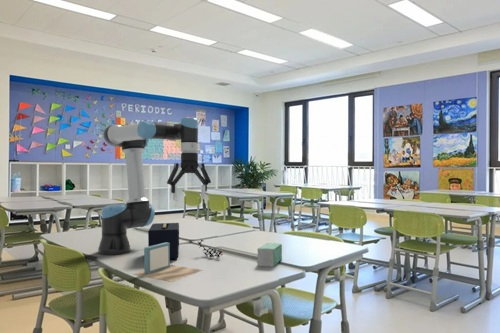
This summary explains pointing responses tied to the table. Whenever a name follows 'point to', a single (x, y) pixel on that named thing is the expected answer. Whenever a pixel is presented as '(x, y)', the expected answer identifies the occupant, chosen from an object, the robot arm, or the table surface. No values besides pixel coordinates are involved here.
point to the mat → (170, 273)
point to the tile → (156, 257)
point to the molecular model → (210, 251)
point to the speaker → (165, 236)
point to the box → (269, 254)
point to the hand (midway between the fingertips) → (189, 199)
